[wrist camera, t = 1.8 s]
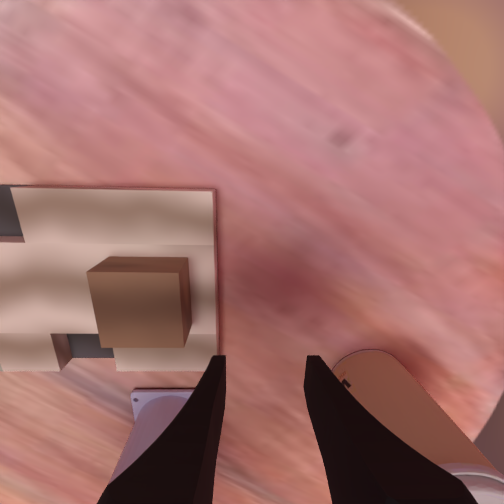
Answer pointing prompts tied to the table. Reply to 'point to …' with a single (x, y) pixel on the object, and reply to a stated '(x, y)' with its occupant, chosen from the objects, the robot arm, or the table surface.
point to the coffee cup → (418, 420)
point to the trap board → (90, 254)
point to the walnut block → (141, 301)
